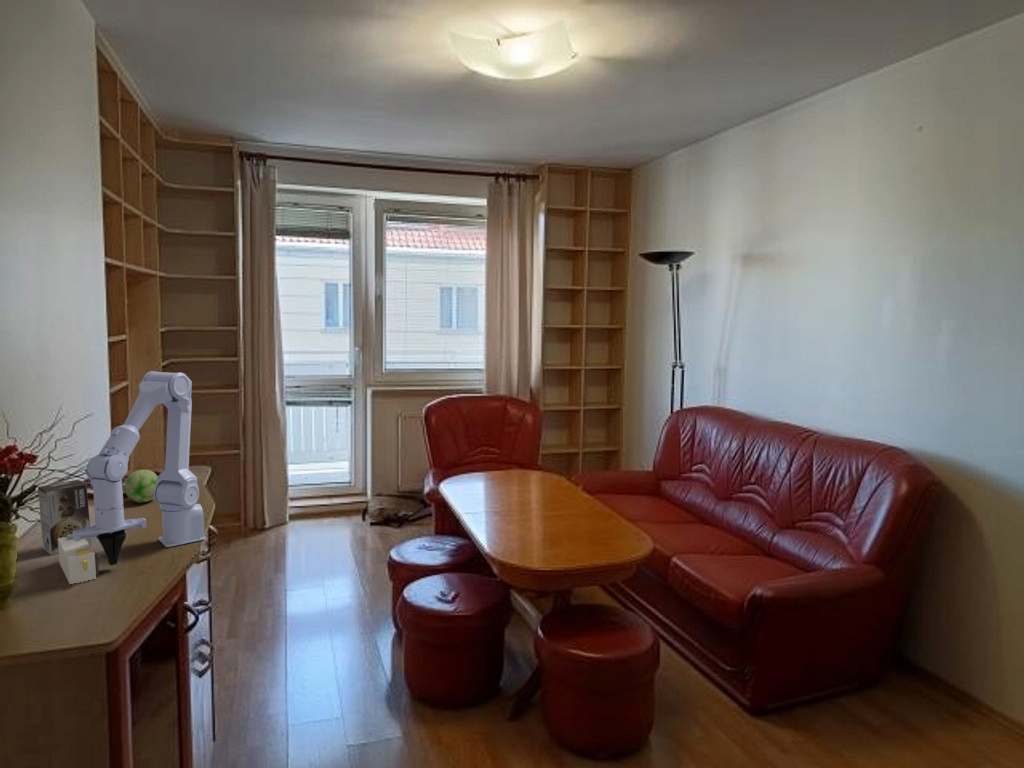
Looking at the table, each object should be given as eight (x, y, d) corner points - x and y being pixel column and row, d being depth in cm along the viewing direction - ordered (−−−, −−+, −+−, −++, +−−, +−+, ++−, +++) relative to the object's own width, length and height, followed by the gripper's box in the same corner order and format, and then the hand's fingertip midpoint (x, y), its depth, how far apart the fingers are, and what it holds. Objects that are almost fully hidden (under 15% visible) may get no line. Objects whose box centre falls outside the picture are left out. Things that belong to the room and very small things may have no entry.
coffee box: (82, 539, 179) (78, 478, 177) (92, 545, 175) (88, 483, 173) (41, 549, 172) (37, 486, 170) (50, 555, 168) (46, 490, 166)
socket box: (82, 556, 167) (81, 530, 167) (97, 581, 153) (95, 552, 152) (58, 561, 164) (56, 534, 163) (71, 587, 150) (68, 557, 149)
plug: (97, 569, 160) (96, 553, 159) (99, 575, 156) (97, 558, 156) (72, 574, 157) (71, 557, 156) (72, 580, 154) (71, 563, 153)
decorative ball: (130, 508, 205) (128, 475, 204) (121, 501, 213) (119, 469, 211) (166, 502, 212) (164, 470, 211) (156, 495, 219) (154, 464, 218)
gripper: (138, 496, 166) (142, 551, 167) (68, 508, 156) (72, 566, 158) (147, 503, 161) (150, 559, 162) (75, 516, 151) (79, 575, 152)
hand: (112, 563), depth 160 cm, fingers closed
